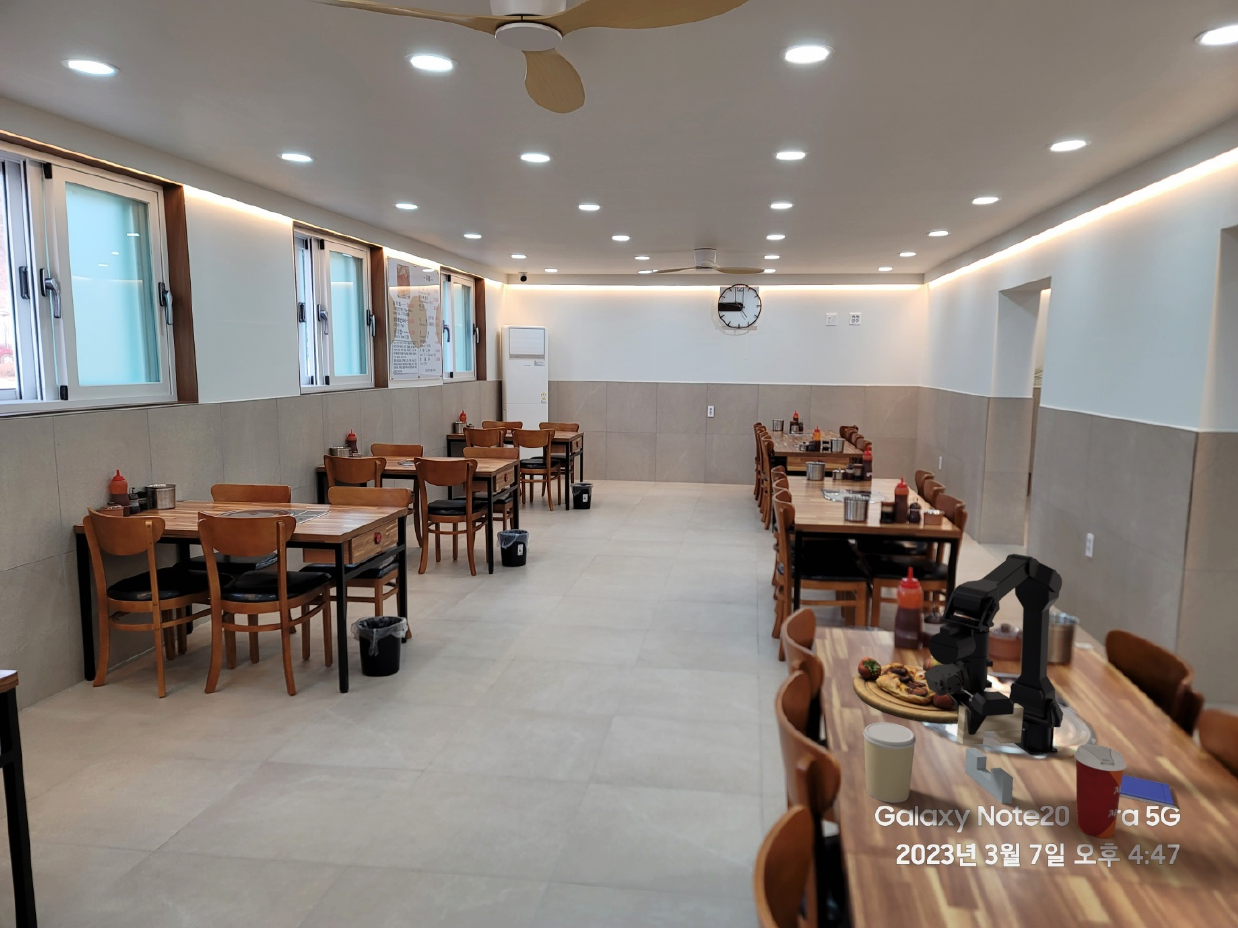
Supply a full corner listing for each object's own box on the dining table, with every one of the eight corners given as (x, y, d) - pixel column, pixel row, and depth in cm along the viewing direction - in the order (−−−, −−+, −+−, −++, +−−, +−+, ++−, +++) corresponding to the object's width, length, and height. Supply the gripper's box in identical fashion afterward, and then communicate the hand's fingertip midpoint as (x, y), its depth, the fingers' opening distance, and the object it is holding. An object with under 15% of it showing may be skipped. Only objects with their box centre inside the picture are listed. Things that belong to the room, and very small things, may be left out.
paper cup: (1129, 844, 134) (1134, 765, 132) (1079, 839, 135) (1084, 760, 134) (1110, 819, 141) (1115, 744, 140) (1063, 814, 143) (1067, 740, 141)
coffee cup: (922, 792, 151) (924, 731, 150) (899, 810, 144) (901, 747, 143) (876, 774, 157) (878, 717, 156) (852, 791, 151) (854, 731, 150)
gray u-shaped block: (974, 771, 159) (975, 747, 158) (1011, 802, 147) (1013, 777, 146) (964, 772, 158) (965, 748, 158) (1001, 803, 147) (1003, 777, 146)
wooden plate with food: (827, 695, 198) (829, 663, 197) (891, 663, 220) (893, 634, 219) (953, 739, 175) (955, 704, 174) (1011, 699, 196) (1013, 667, 195)
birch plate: (1013, 737, 154) (1016, 703, 153) (1020, 742, 152) (1023, 707, 151) (956, 739, 152) (959, 704, 151) (962, 744, 150) (965, 709, 149)
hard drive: (1094, 785, 151) (1173, 802, 145) (1093, 767, 158) (1168, 782, 152) (1094, 793, 151) (1173, 810, 145) (1093, 775, 158) (1167, 790, 152)
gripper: (907, 638, 157) (904, 714, 159) (959, 672, 139) (956, 757, 141) (959, 636, 159) (955, 710, 161) (1018, 669, 141) (1013, 753, 142)
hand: (968, 731), depth 151 cm, fingers closed on birch plate, 2 cm apart
